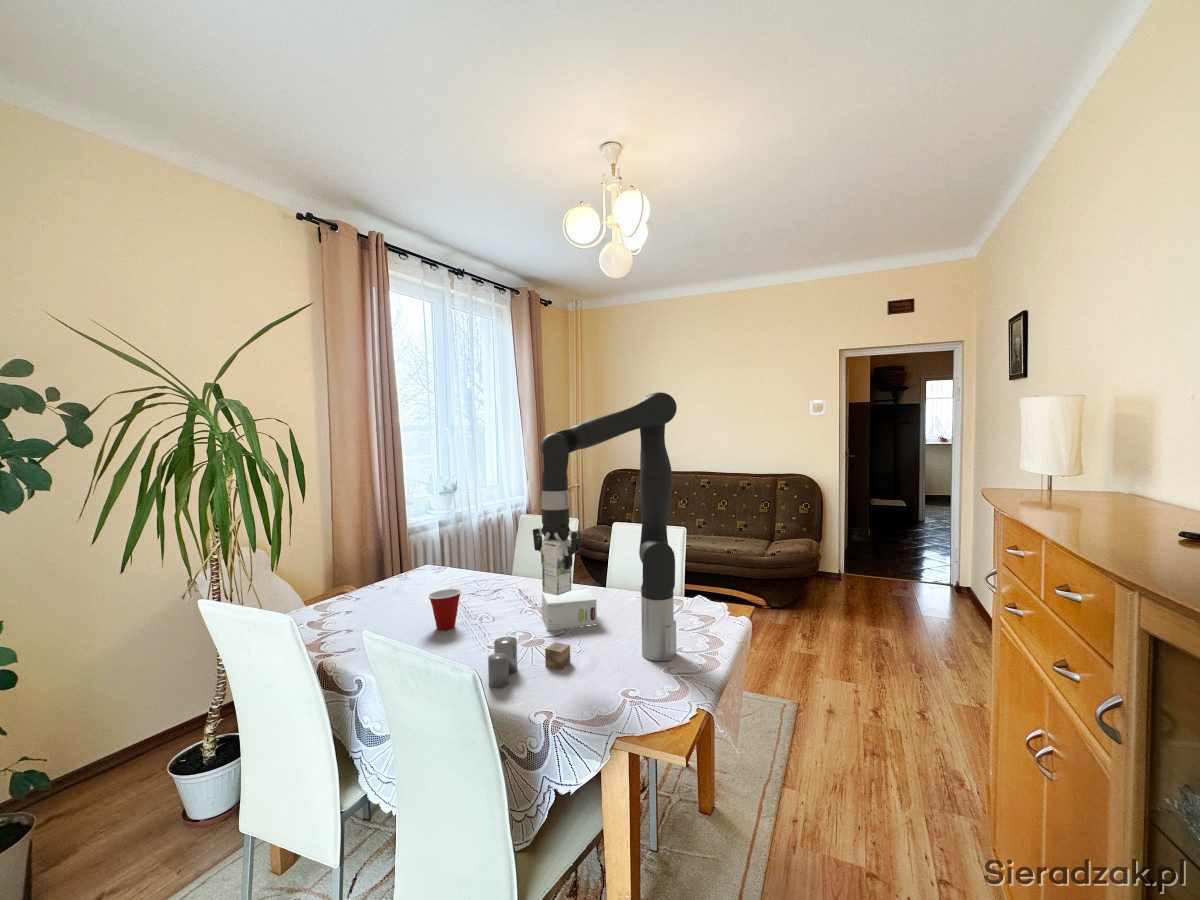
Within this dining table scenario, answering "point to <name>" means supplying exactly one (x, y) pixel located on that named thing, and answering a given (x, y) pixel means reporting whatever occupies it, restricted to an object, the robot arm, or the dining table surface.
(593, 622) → the supplement box
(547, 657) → the walnut block
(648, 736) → the dining table surface
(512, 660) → the dark metal tin
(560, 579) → the syrup box
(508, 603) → the dining table surface
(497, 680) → the charcoal plastic canister
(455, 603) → the plastic cup
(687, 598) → the dining table surface
